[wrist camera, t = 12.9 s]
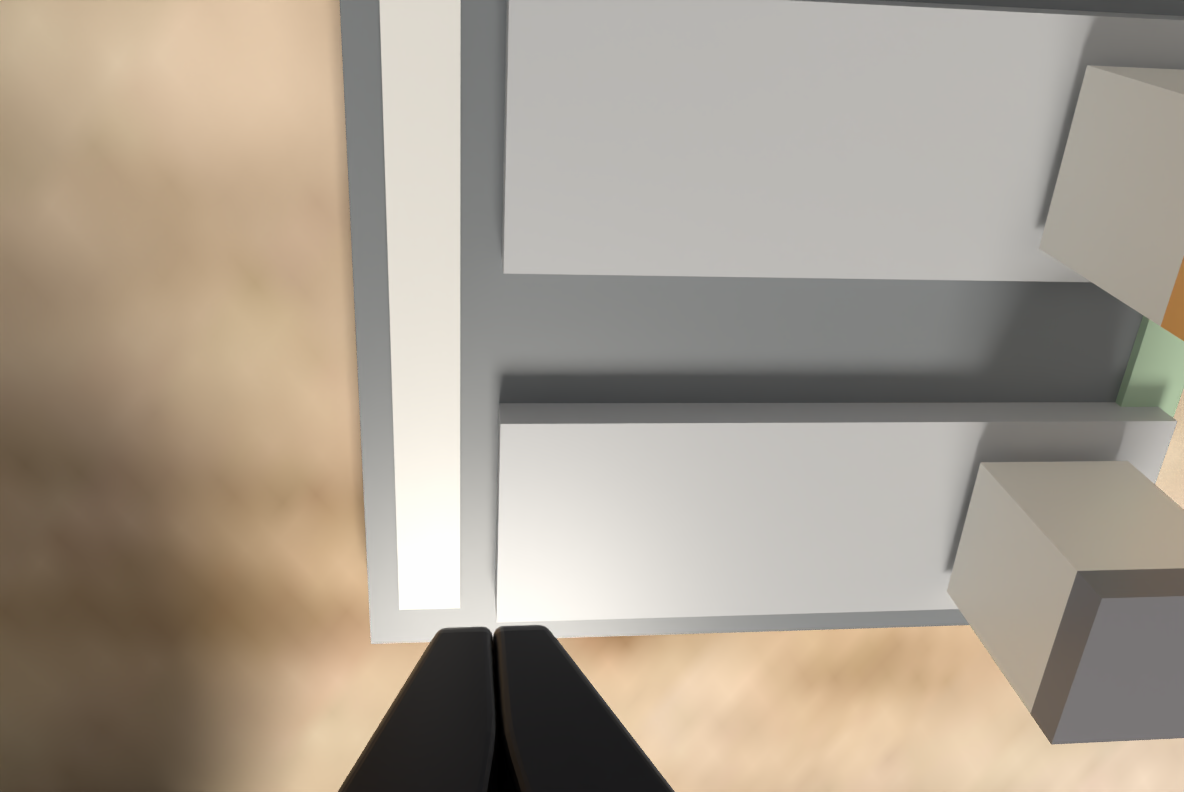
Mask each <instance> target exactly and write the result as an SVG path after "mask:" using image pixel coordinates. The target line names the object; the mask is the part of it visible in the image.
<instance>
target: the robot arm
mask: <svg viewBox="0 0 1184 792" xmlns="http://www.w3.org/2000/svg"><path fill="white" fill-rule="evenodd" d="M338 792H674V790H673V789H672V788H671V786H670V785H669V784H668V782H667V781H666V780H665V779H664V777H663V776H662V775H661V773H660V772H659V771H658V770H657V768H656V767H655V766H654V764H653V763H652V762H651V760H650V759H649V758H648V757H647V755H646V754H645V753H644V751H643V750H642V749H641V748H640V746H639V745H638V744H637V742H636V741H635V740H634V738H633V737H632V736H631V735H630V733H629V732H628V731H627V729H626V728H625V727H624V726H623V724H622V723H621V722H620V720H619V719H618V718H617V716H616V715H615V714H614V713H613V711H612V710H611V709H610V707H609V706H608V705H607V704H606V702H605V701H604V700H603V698H602V697H601V696H600V694H599V693H598V692H597V691H596V689H595V688H594V687H593V685H592V684H591V683H590V682H589V680H588V679H587V678H586V676H585V675H584V674H583V672H582V671H581V670H580V669H579V667H578V666H577V665H576V663H575V662H574V661H573V660H572V658H571V657H570V656H569V654H568V653H567V652H566V650H565V649H564V648H563V647H562V645H561V644H560V643H559V641H558V640H557V639H556V638H555V636H554V635H553V634H552V632H551V631H550V630H549V629H548V628H547V627H545V626H543V625H515V626H500V627H498V628H497V629H496V630H495V632H494V634H493V636H492V632H491V631H490V629H488V628H487V627H483V626H482V627H448V628H443V629H441V630H439V631H438V632H437V633H436V634H435V636H434V637H433V639H432V640H431V642H430V643H429V645H428V647H427V648H426V650H425V652H424V653H423V655H422V656H421V658H420V660H419V661H418V663H417V664H416V666H415V668H414V669H413V671H412V673H411V674H410V676H409V677H408V679H407V681H406V682H405V684H404V686H403V687H402V689H401V690H400V692H399V694H398V695H397V697H396V698H395V700H394V702H393V703H392V705H391V707H390V708H389V710H388V711H387V713H386V715H385V716H384V718H383V719H382V721H381V723H380V724H379V726H378V728H377V729H376V731H375V732H374V734H373V736H372V737H371V739H370V740H369V742H368V744H367V745H366V747H365V749H364V750H363V752H362V753H361V755H360V757H359V758H358V760H357V761H356V763H355V765H354V766H353V768H352V770H351V771H350V773H349V774H348V776H347V778H346V779H345V781H344V782H343V784H342V786H341V787H340V789H339V791H338Z"/></svg>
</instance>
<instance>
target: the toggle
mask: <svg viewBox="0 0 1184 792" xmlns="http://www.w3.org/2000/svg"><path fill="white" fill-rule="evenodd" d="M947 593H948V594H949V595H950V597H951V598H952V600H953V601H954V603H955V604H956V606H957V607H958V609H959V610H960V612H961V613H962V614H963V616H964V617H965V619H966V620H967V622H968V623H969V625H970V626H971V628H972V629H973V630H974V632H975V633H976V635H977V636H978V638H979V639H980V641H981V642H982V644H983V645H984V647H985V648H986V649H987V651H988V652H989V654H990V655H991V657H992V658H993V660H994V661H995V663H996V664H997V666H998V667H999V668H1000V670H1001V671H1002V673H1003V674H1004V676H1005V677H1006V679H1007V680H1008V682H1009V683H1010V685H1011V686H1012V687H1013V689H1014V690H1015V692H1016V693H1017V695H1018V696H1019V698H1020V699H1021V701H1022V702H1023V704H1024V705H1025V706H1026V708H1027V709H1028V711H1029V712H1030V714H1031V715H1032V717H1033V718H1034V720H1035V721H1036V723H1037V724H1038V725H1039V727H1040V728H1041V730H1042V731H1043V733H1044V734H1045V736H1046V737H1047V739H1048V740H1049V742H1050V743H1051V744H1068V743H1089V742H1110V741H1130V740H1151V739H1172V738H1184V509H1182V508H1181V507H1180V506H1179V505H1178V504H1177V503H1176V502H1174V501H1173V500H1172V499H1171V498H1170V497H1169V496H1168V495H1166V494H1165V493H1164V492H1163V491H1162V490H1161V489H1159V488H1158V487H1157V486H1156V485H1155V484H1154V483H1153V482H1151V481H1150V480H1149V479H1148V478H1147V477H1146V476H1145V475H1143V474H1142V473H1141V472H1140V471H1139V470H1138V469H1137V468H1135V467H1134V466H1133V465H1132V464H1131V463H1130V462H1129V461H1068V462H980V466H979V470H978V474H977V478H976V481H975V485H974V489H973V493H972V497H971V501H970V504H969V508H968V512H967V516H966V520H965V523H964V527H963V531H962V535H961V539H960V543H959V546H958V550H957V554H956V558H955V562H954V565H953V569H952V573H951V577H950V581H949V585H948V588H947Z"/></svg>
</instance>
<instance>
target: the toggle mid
mask: <svg viewBox="0 0 1184 792" xmlns="http://www.w3.org/2000/svg"><path fill="white" fill-rule="evenodd" d="M1039 249H1040V250H1042V251H1044V252H1045V253H1047V254H1048V255H1050V256H1051V257H1053V258H1054V259H1056V260H1058V261H1059V262H1061V263H1062V264H1064V265H1065V266H1067V267H1069V268H1070V269H1072V270H1073V271H1075V272H1076V273H1078V274H1079V275H1081V276H1083V277H1084V278H1086V279H1087V280H1089V281H1090V282H1092V283H1094V284H1095V285H1097V286H1098V287H1100V288H1101V289H1103V290H1104V291H1106V292H1108V293H1109V294H1111V295H1112V296H1114V297H1115V298H1117V299H1119V300H1120V301H1122V302H1123V303H1125V304H1126V305H1128V306H1129V307H1131V308H1133V309H1134V310H1136V311H1137V312H1139V313H1140V314H1142V315H1144V316H1145V317H1147V318H1148V319H1150V320H1151V321H1153V322H1154V323H1156V324H1158V325H1159V326H1161V327H1162V328H1164V329H1165V330H1167V331H1169V332H1170V333H1172V334H1173V335H1175V336H1176V337H1178V338H1179V339H1181V340H1183V341H1184V70H1181V69H1159V68H1136V67H1114V66H1091V65H1087V68H1086V71H1085V75H1084V79H1083V83H1082V87H1081V90H1080V94H1079V98H1078V102H1077V106H1076V109H1075V113H1074V117H1073V121H1072V125H1071V128H1070V132H1069V136H1068V140H1067V144H1066V147H1065V151H1064V155H1063V159H1062V163H1061V166H1060V170H1059V174H1058V178H1057V182H1056V185H1055V189H1054V193H1053V197H1052V201H1051V204H1050V208H1049V212H1048V216H1047V220H1046V223H1045V227H1044V231H1043V235H1042V239H1041V242H1040V246H1039Z"/></svg>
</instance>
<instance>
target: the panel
mask: <svg viewBox="0 0 1184 792" xmlns="http://www.w3.org/2000/svg"><path fill="white" fill-rule="evenodd" d="M340 15H341V36H342V56H343V77H344V97H345V118H346V139H347V159H348V180H349V200H350V221H351V242H352V262H353V283H354V303H355V324H356V345H357V365H358V386H359V406H360V427H361V448H362V468H363V489H364V509H365V530H366V551H367V571H368V592H369V612H370V633H371V644H381V643H413V642H431V640H432V639H433V637H434V636H435V634H436V633H437V632H438V631H439V630H441V629H443V628H448V627H482V626H483V627H487V628H488V629H490V631H491V632H492V636H493V634H494V632H495V630H496V629H497V628H498V627H500V626H515V625H543V626H545V627H547V628H548V629H549V630H550V631H551V632H552V634H553V635H554V636H555V638H571V637H603V636H635V635H667V634H698V633H730V632H762V631H793V630H825V629H857V628H888V627H920V626H952V625H969V623H968V622H967V620H966V619H965V617H964V616H963V614H962V613H961V612H960V610H959V609H958V607H957V606H956V604H955V603H954V601H953V600H952V598H951V597H950V595H949V594H948V593H947V588H948V585H949V581H950V577H951V573H952V569H953V565H954V562H955V558H956V554H957V550H958V546H959V543H960V539H961V535H962V531H963V527H964V523H965V520H966V516H967V512H968V508H969V504H970V501H971V497H972V493H973V489H974V485H975V481H976V478H977V474H978V470H979V466H980V462H1068V461H1129V462H1130V463H1131V464H1132V465H1133V466H1134V467H1135V468H1137V469H1138V470H1139V471H1140V472H1141V473H1142V474H1143V475H1145V476H1146V477H1147V478H1148V479H1149V480H1150V481H1151V482H1153V483H1154V484H1155V483H1156V480H1157V477H1158V474H1159V472H1160V469H1161V466H1162V463H1163V460H1164V457H1165V455H1166V452H1167V449H1168V446H1169V443H1170V440H1171V438H1172V435H1173V432H1174V429H1175V426H1176V424H1177V421H1176V420H1175V419H1174V418H1173V417H1174V414H1175V411H1176V408H1177V405H1178V403H1179V400H1180V397H1181V394H1182V391H1183V388H1184V341H1183V340H1181V339H1179V338H1178V337H1176V336H1175V335H1173V334H1172V333H1170V332H1169V331H1167V330H1165V329H1164V328H1162V327H1161V326H1159V325H1158V324H1156V323H1154V322H1153V321H1151V320H1150V319H1148V318H1147V317H1145V316H1144V315H1142V314H1140V313H1139V312H1137V311H1136V310H1134V309H1133V308H1131V307H1129V306H1128V305H1126V304H1125V303H1123V302H1122V301H1120V300H1119V299H1117V298H1115V297H1114V296H1112V295H1111V294H1109V293H1108V292H1106V291H1104V290H1103V289H1101V288H1100V287H1098V286H1097V285H1095V284H1094V283H1092V282H1090V281H1089V280H1087V279H1086V278H1084V277H1083V276H1081V275H1079V274H1078V273H1076V272H1075V271H1073V270H1072V269H1070V268H1069V267H1067V266H1065V265H1064V264H1062V263H1061V262H1059V261H1058V260H1056V259H1054V258H1053V257H1051V256H1050V255H1048V254H1047V253H1045V252H1044V251H1042V250H1040V249H1039V246H1040V242H1041V239H1042V235H1043V231H1044V227H1045V223H1046V220H1047V216H1048V212H1049V208H1050V204H1051V201H1052V197H1053V193H1054V189H1055V185H1056V182H1057V178H1058V174H1059V170H1060V166H1061V163H1062V159H1063V155H1064V151H1065V147H1066V144H1067V140H1068V136H1069V132H1070V128H1071V125H1072V121H1073V117H1074V113H1075V109H1076V106H1077V102H1078V98H1079V94H1080V90H1081V87H1082V83H1083V79H1084V75H1085V71H1086V68H1087V65H1091V66H1114V67H1136V68H1159V69H1181V70H1184V0H340Z"/></svg>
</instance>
